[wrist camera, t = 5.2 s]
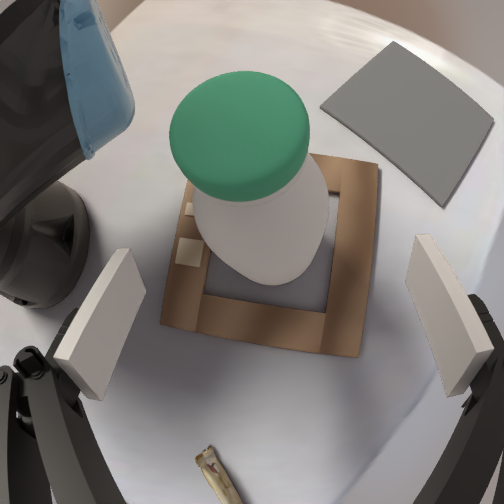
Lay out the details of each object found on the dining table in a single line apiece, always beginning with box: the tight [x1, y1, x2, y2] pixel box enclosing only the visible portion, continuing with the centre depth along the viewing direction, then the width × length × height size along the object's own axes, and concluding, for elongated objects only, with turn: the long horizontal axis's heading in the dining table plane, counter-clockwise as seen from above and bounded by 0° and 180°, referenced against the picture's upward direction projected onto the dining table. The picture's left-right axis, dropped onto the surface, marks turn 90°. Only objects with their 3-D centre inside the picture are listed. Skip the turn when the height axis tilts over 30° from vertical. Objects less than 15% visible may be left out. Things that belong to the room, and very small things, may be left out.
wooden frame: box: [160, 153, 378, 358], centre depth 28 cm, size 18×18×1 cm
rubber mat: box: [320, 41, 494, 207], centre depth 29 cm, size 16×16×1 cm
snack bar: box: [195, 445, 243, 504], centre depth 24 cm, size 10×2×3 cm, turn 23°
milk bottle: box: [169, 71, 329, 285], centre depth 19 cm, size 8×8×20 cm
